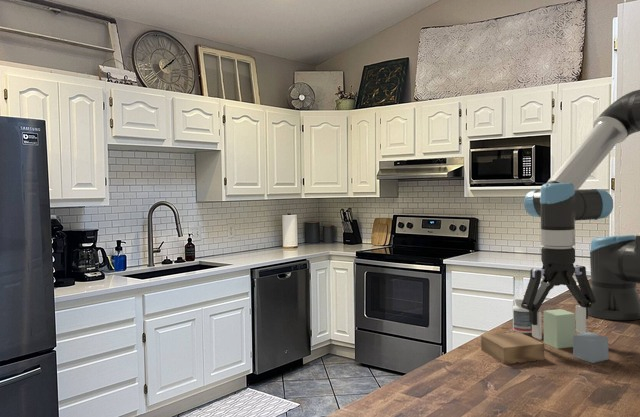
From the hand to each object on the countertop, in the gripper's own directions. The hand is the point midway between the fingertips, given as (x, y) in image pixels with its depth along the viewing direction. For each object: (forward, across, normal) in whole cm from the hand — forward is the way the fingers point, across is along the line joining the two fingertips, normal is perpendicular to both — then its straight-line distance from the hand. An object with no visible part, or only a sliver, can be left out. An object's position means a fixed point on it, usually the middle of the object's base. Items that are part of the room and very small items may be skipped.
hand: (559, 335), depth 129 cm
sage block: (+2, 0, 0) cm, 2 cm away
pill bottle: (+2, +1, -13) cm, 13 cm away
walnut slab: (+3, +15, +3) cm, 16 cm away
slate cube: (+2, 0, +10) cm, 11 cm away
